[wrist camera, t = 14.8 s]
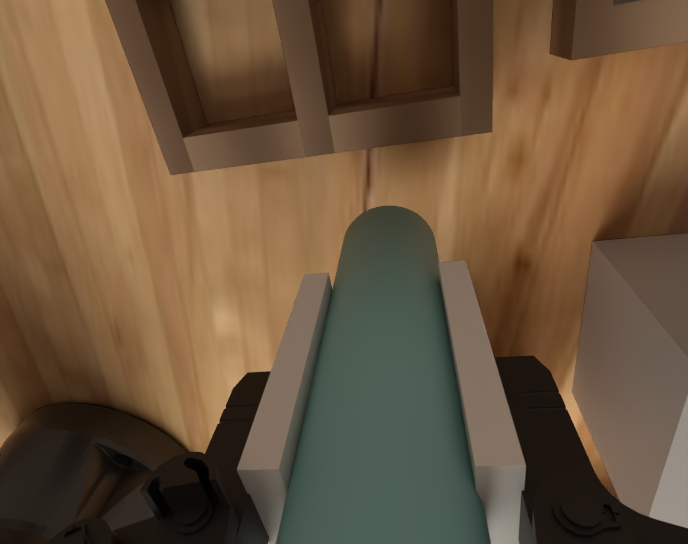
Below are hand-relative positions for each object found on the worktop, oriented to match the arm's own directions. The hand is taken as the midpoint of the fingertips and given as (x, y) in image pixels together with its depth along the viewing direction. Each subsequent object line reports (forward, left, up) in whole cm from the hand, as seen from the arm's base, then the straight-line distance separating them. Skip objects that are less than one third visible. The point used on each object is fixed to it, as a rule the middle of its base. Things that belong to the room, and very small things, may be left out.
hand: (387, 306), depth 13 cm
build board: (-2, +7, -8) cm, 11 cm away
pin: (0, 0, -4) cm, 4 cm away
